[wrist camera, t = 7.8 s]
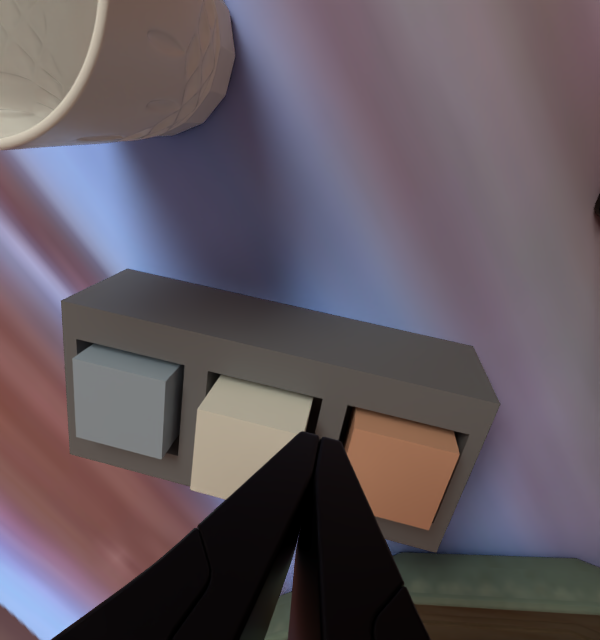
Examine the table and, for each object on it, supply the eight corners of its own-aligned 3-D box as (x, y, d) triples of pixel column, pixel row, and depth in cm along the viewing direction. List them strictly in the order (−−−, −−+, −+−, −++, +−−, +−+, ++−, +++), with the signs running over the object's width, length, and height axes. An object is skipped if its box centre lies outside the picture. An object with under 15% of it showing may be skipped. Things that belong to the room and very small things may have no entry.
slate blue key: (195, 348, 20) (165, 381, 17) (189, 419, 21) (161, 459, 18) (114, 329, 20) (72, 358, 17) (114, 400, 22) (76, 436, 19)
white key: (314, 391, 18) (303, 435, 15) (298, 464, 20) (285, 515, 17) (224, 370, 18) (197, 408, 16) (215, 442, 20) (190, 490, 17)
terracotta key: (447, 409, 19) (459, 454, 16) (421, 478, 20) (428, 530, 17) (357, 387, 19) (354, 428, 16) (339, 457, 21) (333, 504, 18)
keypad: (472, 346, 20) (500, 404, 16) (424, 473, 24) (436, 552, 19) (127, 268, 22) (60, 300, 17) (126, 398, 25) (69, 453, 20)
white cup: (123, 173, 20) (-90, 195, 11) (38, -18, 18) (-324, -193, 9) (276, 111, 18) (172, 75, 9) (205, -115, 16) (-41, -485, 6)
